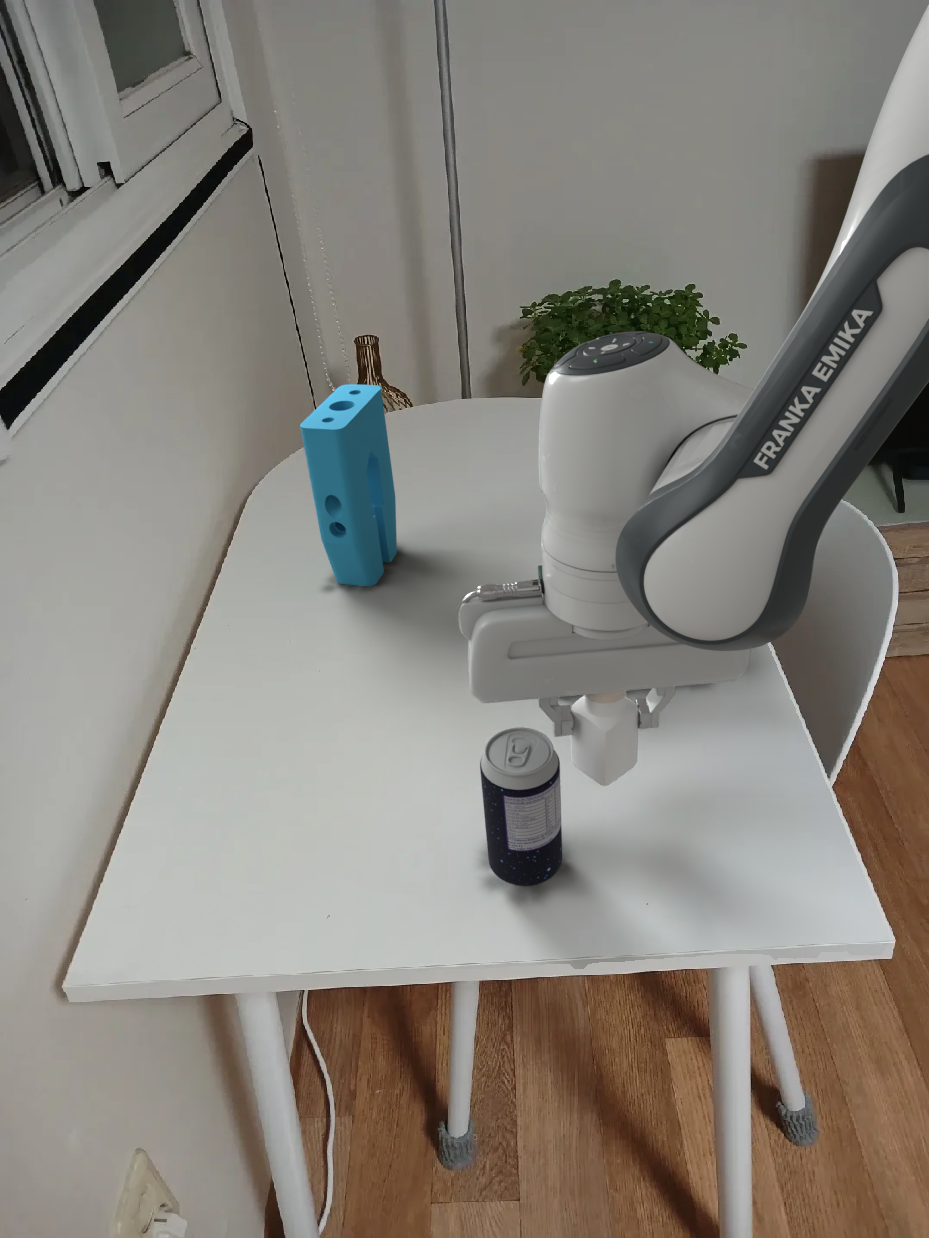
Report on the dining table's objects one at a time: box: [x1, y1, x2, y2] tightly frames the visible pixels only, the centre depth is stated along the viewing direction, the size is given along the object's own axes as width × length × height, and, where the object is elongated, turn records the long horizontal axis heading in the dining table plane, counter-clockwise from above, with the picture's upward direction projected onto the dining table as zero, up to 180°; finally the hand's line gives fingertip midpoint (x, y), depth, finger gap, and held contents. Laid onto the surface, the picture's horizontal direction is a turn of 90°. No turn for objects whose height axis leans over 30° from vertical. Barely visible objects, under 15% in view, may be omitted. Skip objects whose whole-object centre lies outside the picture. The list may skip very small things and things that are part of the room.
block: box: [299, 383, 398, 587], centre depth 107 cm, size 12×5×20 cm, turn 164°
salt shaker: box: [570, 691, 640, 787], centre depth 73 cm, size 4×4×10 cm
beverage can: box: [479, 727, 563, 887], centre depth 70 cm, size 6×6×12 cm
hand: (605, 727), depth 73 cm, fingers closed on salt shaker, 5 cm apart
